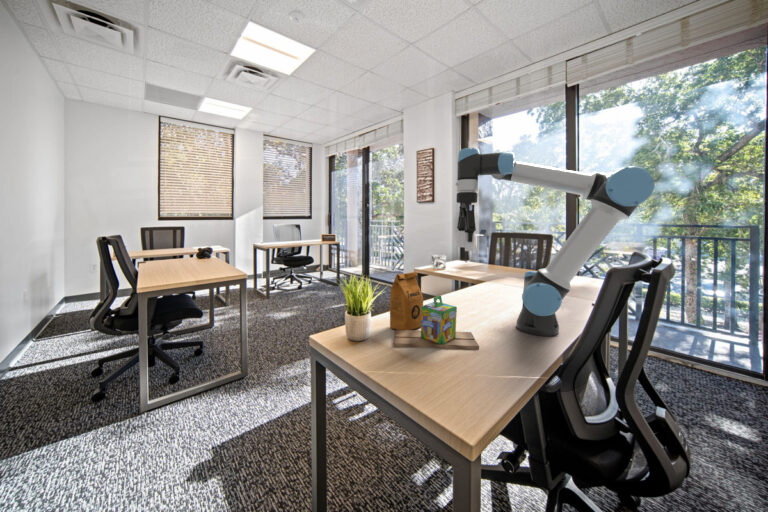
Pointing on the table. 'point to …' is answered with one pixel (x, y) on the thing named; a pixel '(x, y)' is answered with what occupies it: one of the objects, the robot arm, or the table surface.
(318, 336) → the table surface
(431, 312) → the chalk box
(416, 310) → the coffee package
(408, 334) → the plank
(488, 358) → the table surface
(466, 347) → the wooden board
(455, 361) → the table surface
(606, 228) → the robot arm
